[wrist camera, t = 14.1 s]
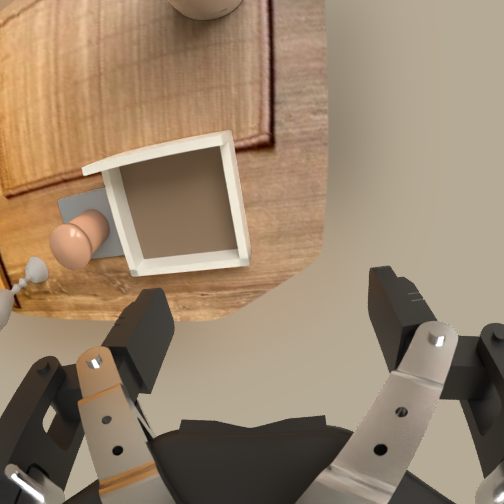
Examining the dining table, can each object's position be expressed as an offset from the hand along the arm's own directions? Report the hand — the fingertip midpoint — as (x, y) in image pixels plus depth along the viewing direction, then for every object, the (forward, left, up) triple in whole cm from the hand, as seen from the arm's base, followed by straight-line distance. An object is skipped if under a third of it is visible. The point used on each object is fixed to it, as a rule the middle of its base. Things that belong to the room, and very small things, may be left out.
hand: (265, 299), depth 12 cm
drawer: (+3, -12, -28) cm, 31 cm away
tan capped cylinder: (+4, -26, -27) cm, 37 cm away
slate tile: (+4, -26, -28) cm, 38 cm away
